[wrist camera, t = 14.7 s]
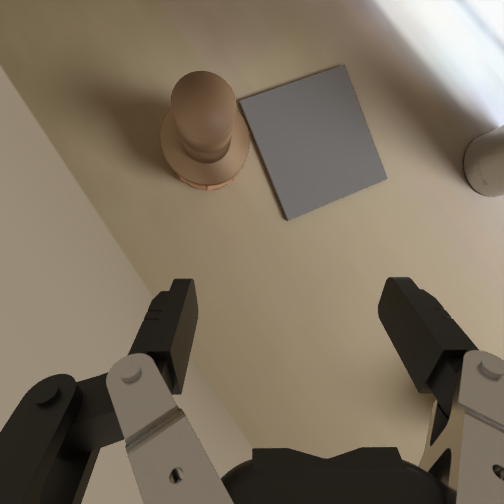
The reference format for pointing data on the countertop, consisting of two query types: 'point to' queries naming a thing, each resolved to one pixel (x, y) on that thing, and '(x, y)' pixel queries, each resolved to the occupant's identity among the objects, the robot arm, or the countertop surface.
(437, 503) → the robot arm
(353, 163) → the rubber mat
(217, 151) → the walnut lid
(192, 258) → the countertop surface
